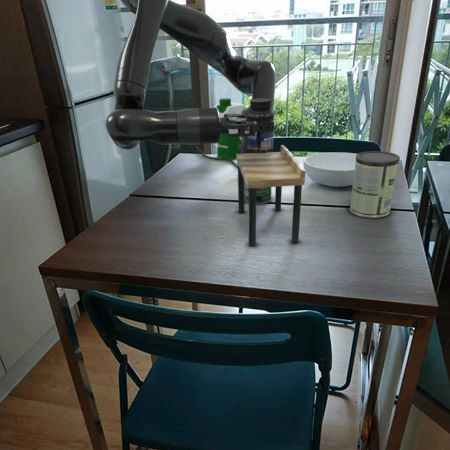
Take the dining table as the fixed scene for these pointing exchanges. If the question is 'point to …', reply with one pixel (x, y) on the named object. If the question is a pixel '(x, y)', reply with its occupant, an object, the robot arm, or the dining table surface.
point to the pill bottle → (259, 113)
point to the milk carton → (226, 144)
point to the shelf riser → (270, 184)
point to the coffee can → (373, 183)
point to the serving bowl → (331, 168)
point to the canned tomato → (258, 194)
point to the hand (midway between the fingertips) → (270, 123)
